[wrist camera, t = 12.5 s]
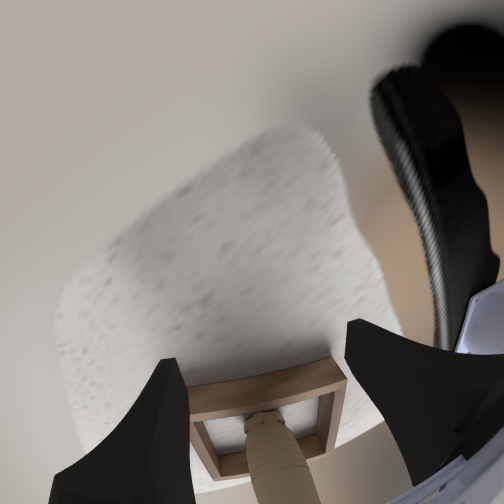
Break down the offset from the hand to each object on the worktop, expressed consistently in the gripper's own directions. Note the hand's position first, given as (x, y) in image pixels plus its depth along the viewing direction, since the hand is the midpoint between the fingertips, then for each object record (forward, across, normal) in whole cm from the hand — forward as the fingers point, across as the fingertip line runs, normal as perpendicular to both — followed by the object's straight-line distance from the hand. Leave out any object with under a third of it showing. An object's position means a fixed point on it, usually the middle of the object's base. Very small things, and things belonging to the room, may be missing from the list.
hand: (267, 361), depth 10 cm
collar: (+5, 0, +11) cm, 12 cm away
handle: (+5, 0, +11) cm, 12 cm away
